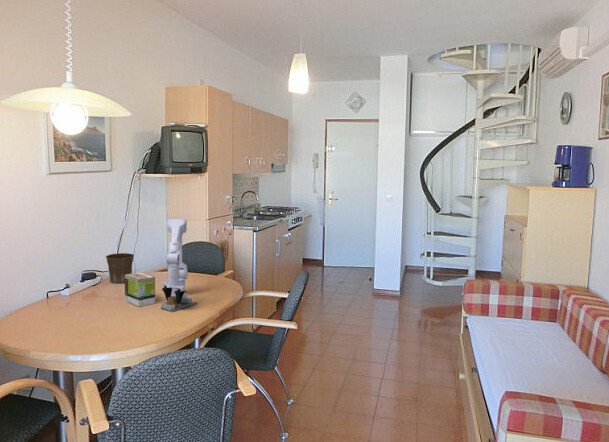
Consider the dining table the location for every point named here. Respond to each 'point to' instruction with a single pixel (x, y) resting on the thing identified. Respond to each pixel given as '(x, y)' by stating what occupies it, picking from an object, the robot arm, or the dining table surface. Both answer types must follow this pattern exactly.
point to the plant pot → (119, 266)
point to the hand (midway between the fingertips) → (173, 302)
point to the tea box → (140, 289)
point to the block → (173, 301)
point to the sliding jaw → (186, 300)
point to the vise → (171, 307)
